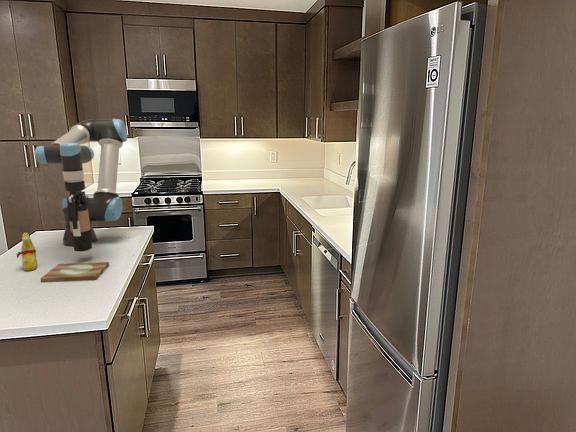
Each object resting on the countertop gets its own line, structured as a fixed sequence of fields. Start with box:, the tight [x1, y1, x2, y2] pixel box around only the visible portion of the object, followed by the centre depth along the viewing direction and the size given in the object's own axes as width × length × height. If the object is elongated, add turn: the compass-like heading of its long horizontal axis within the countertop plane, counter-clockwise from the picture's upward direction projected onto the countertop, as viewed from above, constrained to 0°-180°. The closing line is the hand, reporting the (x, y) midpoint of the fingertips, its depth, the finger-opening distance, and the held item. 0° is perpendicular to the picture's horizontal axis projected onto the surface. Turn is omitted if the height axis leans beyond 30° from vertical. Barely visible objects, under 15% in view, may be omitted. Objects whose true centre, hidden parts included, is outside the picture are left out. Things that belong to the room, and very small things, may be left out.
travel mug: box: [70, 202, 93, 253], centre depth 175 cm, size 8×8×20 cm
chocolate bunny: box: [16, 232, 38, 272], centre depth 168 cm, size 7×11×15 cm, turn 29°
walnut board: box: [40, 261, 110, 283], centre depth 163 cm, size 16×20×2 cm
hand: (81, 233), depth 176 cm, fingers closed on travel mug, 8 cm apart
